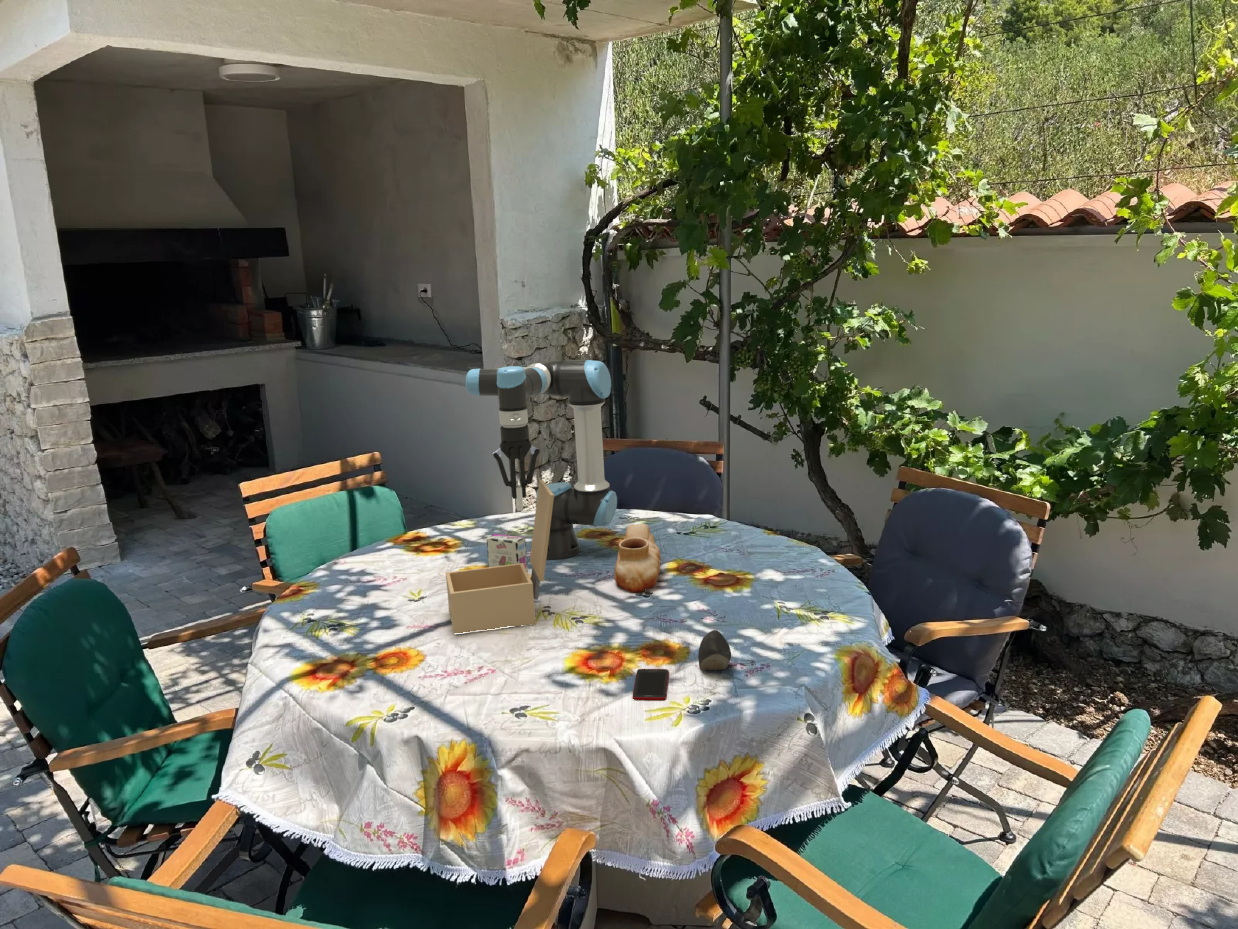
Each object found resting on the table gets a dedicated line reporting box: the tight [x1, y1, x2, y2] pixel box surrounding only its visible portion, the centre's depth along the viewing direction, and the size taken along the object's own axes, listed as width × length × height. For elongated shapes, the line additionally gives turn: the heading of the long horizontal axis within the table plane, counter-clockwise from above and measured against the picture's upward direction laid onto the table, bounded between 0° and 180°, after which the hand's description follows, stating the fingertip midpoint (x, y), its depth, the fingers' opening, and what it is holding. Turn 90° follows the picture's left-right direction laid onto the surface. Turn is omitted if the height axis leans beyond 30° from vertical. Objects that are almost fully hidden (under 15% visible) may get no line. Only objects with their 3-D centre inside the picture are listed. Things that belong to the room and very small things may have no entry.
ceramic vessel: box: [614, 523, 662, 593], centre depth 286 cm, size 14×26×15 cm, turn 174°
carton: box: [445, 563, 536, 634], centre depth 260 cm, size 22×17×12 cm
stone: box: [697, 629, 732, 671], centre depth 226 cm, size 8×8×10 cm
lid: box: [529, 479, 554, 601], centre depth 260 cm, size 31×17×1 cm
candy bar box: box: [486, 533, 528, 571], centre depth 281 cm, size 11×5×16 cm, turn 62°
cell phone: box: [632, 668, 670, 702], centre depth 219 cm, size 8×15×1 cm, turn 174°
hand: (519, 509), depth 256 cm, fingers closed
